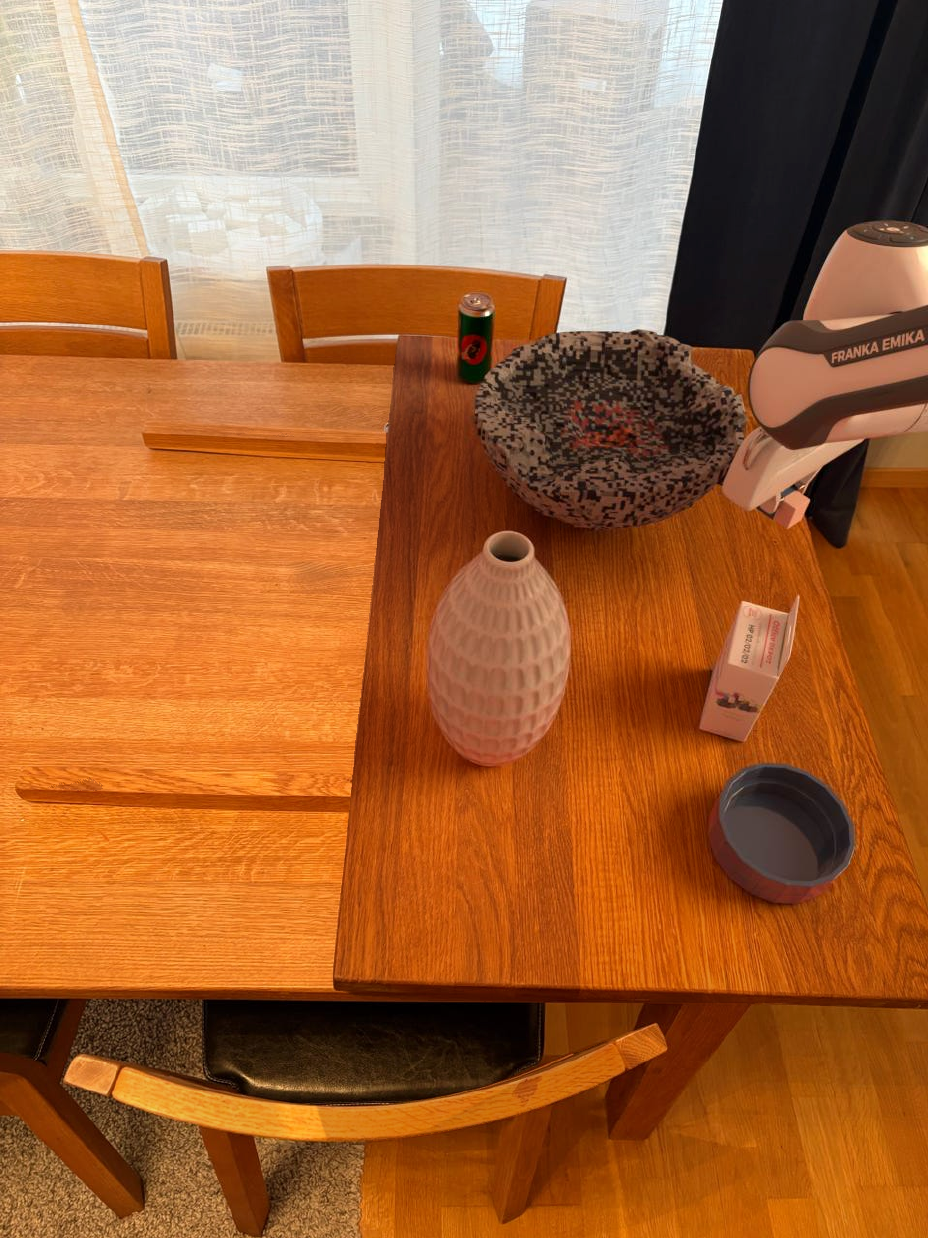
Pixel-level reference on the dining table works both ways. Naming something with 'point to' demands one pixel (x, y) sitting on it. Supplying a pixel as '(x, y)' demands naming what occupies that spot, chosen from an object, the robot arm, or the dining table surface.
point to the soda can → (475, 337)
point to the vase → (498, 653)
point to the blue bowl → (780, 833)
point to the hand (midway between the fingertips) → (781, 500)
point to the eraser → (789, 508)
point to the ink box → (747, 669)
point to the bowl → (608, 427)
